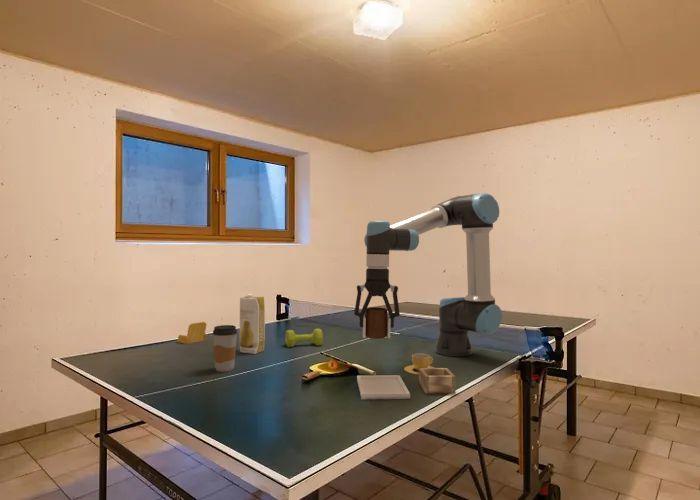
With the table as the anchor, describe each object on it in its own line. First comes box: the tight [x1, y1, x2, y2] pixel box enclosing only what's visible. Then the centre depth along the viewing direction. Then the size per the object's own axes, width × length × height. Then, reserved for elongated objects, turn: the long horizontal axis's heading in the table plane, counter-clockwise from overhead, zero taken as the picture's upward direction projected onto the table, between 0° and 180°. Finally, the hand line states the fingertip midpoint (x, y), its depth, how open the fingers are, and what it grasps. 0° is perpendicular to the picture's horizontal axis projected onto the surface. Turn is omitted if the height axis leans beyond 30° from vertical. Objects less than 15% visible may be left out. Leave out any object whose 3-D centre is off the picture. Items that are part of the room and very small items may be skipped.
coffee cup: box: [212, 324, 238, 373], centre depth 151 cm, size 8×8×15 cm
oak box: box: [418, 367, 456, 394], centre depth 132 cm, size 9×9×5 cm
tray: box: [356, 374, 411, 400], centre depth 131 cm, size 14×18×2 cm
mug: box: [364, 306, 389, 340], centre depth 141 cm, size 12×8×9 cm, turn 0°
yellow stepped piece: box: [176, 321, 208, 345], centre depth 197 cm, size 10×10×9 cm
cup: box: [403, 353, 436, 375], centre depth 152 cm, size 12×12×5 cm
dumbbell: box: [284, 328, 324, 348], centre depth 190 cm, size 16×8×7 cm, turn 106°
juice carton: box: [239, 293, 266, 355], centre depth 178 cm, size 9×8×24 cm
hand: (376, 337), depth 141 cm, fingers closed on mug, 7 cm apart
